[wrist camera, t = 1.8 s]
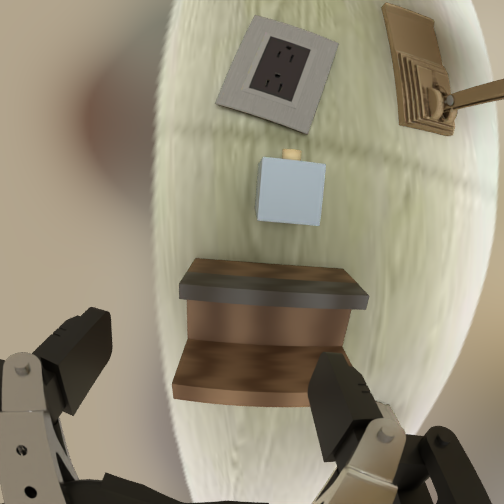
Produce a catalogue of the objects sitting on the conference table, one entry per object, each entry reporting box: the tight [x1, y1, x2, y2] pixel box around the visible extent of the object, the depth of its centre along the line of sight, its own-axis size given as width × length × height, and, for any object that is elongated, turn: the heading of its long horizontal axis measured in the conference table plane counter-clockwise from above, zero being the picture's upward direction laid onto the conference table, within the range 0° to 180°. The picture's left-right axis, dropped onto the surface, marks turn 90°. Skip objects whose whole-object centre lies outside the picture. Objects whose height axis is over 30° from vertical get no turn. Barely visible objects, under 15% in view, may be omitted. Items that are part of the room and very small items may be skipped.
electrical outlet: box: [215, 15, 339, 134], centre depth 27 cm, size 13×10×2 cm
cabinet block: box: [255, 149, 326, 226], centre depth 26 cm, size 5×6×10 cm
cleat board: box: [172, 258, 369, 407], centre depth 28 cm, size 18×10×13 cm, turn 85°
